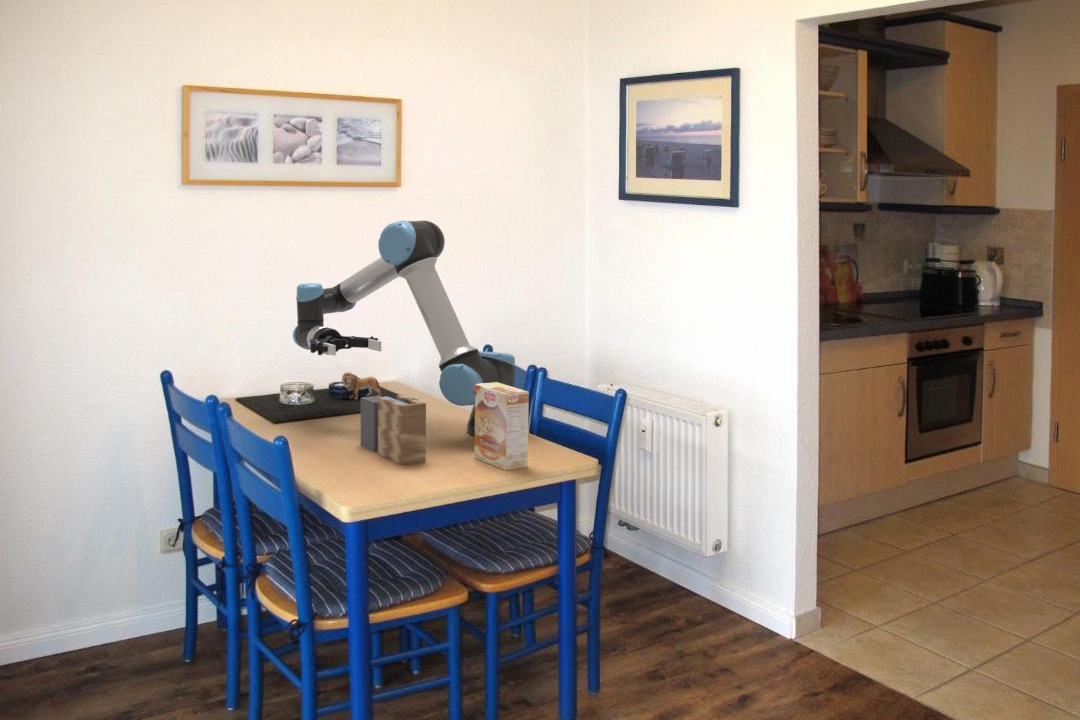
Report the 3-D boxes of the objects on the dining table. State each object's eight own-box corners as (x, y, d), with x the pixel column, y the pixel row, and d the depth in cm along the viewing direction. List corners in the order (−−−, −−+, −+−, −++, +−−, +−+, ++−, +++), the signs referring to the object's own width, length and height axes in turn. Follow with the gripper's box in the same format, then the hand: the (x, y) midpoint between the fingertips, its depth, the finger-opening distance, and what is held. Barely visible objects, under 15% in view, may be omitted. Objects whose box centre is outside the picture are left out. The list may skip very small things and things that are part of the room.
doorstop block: (360, 445, 291) (360, 397, 289) (379, 442, 294) (379, 395, 292) (374, 451, 285) (374, 402, 283) (393, 448, 288) (393, 400, 286)
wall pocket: (378, 454, 282) (377, 397, 279) (401, 450, 286) (401, 394, 283) (401, 464, 271) (401, 406, 269) (425, 461, 275) (425, 403, 273)
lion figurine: (346, 401, 349) (346, 373, 348) (338, 398, 353) (338, 371, 352) (386, 396, 358) (386, 369, 357) (377, 394, 362) (377, 367, 361)
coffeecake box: (473, 458, 280) (474, 383, 277) (496, 454, 284) (497, 381, 281) (504, 471, 268) (506, 393, 265) (528, 467, 272) (530, 390, 269)
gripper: (364, 349, 319) (398, 358, 302) (283, 357, 305) (315, 366, 287) (364, 324, 318) (398, 331, 301) (282, 330, 303) (314, 338, 286)
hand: (357, 348), depth 294 cm, fingers open, 13 cm apart
